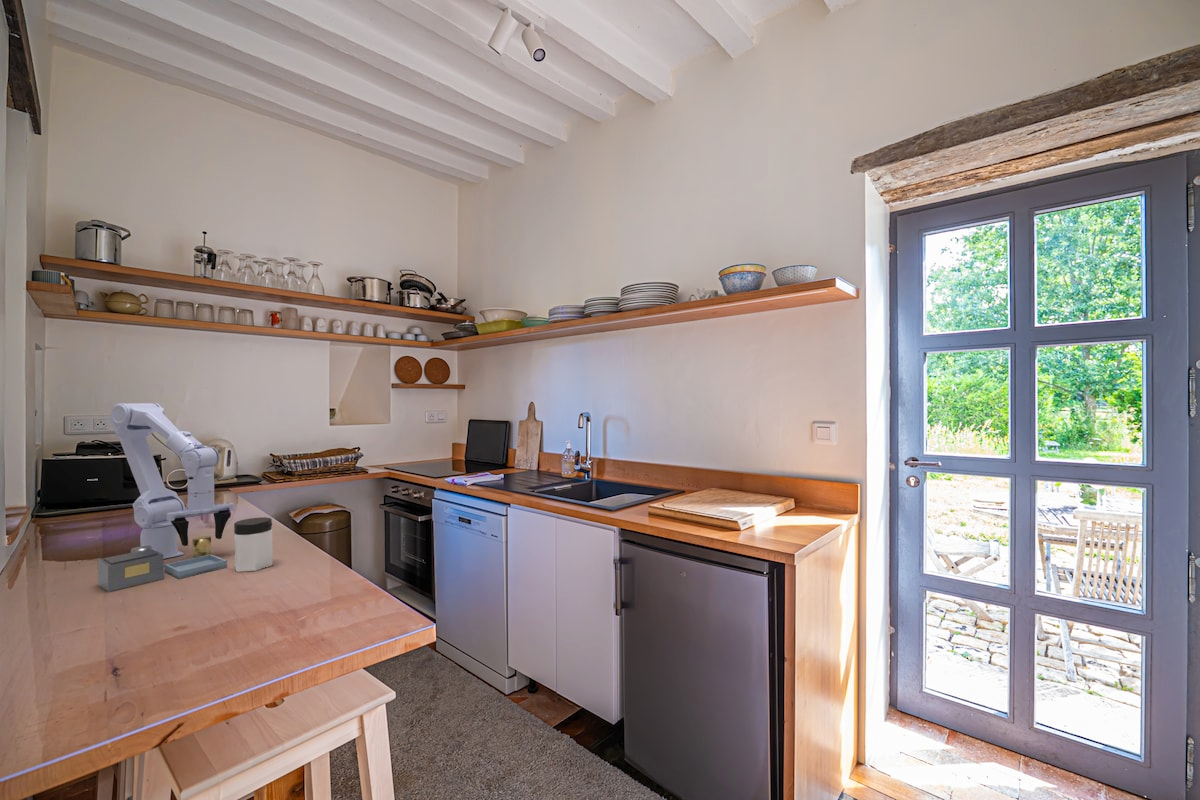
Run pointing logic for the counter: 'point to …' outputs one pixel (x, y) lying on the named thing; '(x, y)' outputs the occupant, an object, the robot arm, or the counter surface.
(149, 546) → the part grey
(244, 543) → the jar
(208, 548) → the part brass
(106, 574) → the unit
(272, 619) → the counter surface
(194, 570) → the tray
